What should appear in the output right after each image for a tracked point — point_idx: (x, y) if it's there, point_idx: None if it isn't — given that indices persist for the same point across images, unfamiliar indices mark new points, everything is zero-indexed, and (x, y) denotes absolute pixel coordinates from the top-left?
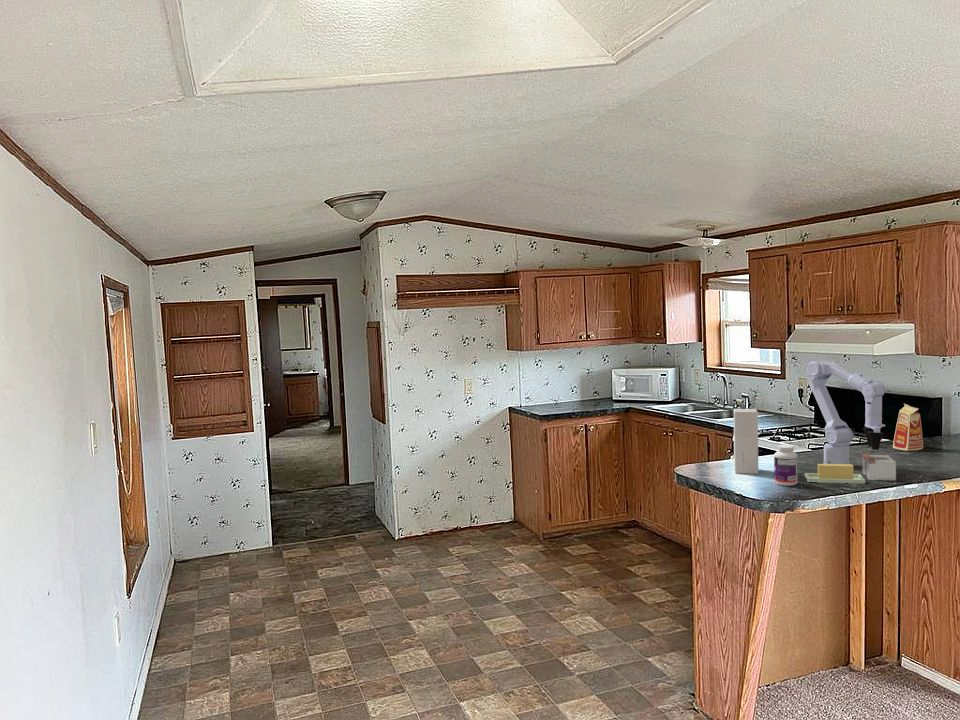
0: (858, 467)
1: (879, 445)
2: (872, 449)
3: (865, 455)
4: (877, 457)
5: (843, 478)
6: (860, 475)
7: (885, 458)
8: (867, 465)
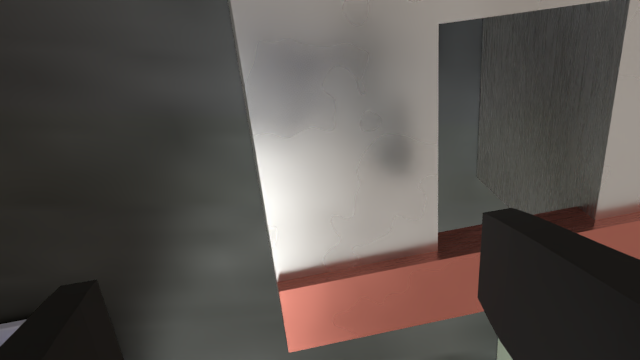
0: (12, 252)
1: (586, 241)
2: (483, 297)
3: (410, 312)
4: (434, 160)
5: None
6: None
7: (432, 42)
8: None
